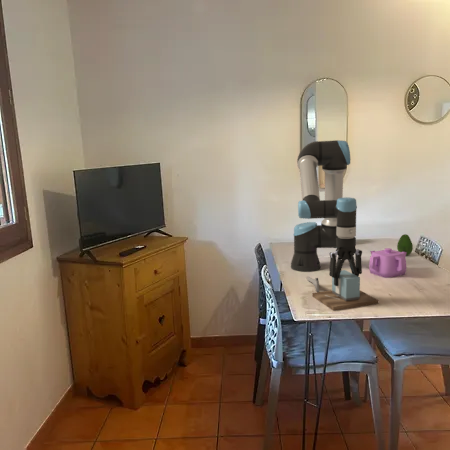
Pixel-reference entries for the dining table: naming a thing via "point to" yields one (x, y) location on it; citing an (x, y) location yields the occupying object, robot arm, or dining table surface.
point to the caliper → (314, 283)
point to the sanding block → (348, 286)
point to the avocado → (405, 244)
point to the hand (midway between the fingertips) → (345, 292)
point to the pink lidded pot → (387, 263)
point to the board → (339, 303)
